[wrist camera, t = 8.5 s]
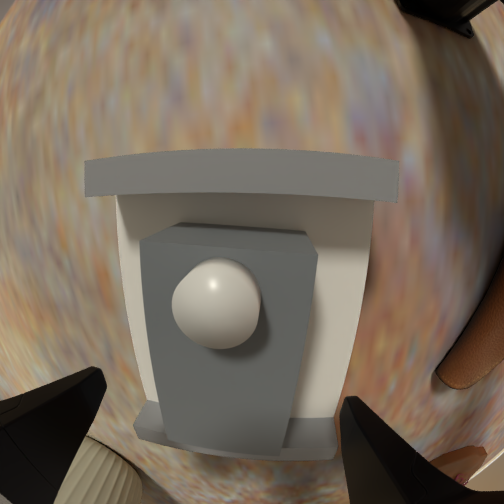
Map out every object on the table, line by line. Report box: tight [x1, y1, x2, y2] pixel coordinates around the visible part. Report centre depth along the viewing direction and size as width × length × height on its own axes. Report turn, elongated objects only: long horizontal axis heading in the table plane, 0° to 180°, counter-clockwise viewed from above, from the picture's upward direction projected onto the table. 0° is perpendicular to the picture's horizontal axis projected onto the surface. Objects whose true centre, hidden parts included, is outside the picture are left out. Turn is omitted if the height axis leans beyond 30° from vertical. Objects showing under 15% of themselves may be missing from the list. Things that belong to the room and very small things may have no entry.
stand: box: [85, 149, 399, 461], centre depth 13 cm, size 12×16×6 cm
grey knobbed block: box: [139, 222, 318, 456], centre depth 11 cm, size 10×6×5 cm, turn 176°
